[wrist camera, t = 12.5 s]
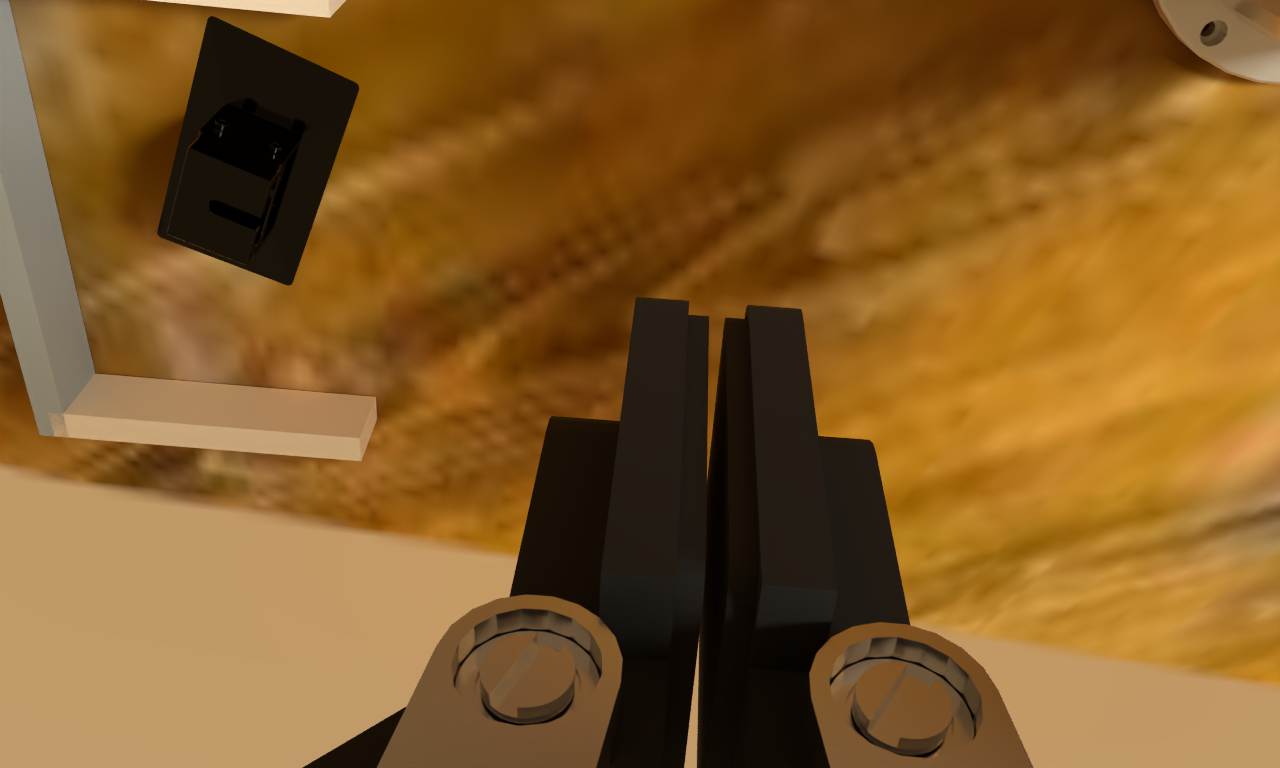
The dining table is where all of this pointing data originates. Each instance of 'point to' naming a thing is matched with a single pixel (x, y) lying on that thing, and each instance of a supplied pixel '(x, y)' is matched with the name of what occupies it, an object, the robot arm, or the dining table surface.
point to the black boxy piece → (254, 152)
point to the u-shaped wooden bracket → (55, 333)
